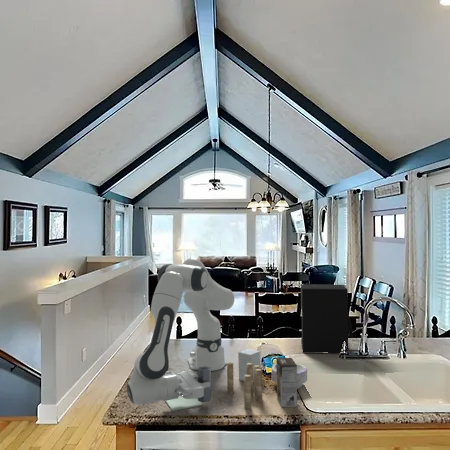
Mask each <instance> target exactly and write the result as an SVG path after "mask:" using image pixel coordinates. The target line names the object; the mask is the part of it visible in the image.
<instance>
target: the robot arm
mask: <svg viewBox="0 0 450 450" xmlns="http://www.w3.org/2000/svg"><path fill="white" fill-rule="evenodd" d="M208 271H209V270H208V269H207V267H206V266H205V265H204V263H203V262H202V261H201V260H200V259H198V258H196V257H190V258H187V259H185V261H183V262H182V264H178V263H175V264H172V263H167V264H163V265H162V266H161V267H160V268H159V270H158V272H157V282H158V283H157V285H156V287H155V290H154V292H153V295H152V300H151V304H150V313H151V315H152V317H153V318H154V321H155V322H154V328H153V332H152V337H151V340H150V344H149V347H148V348H147V349H146V351H145V352H142V353H140V354H138V356H137V357H136V359H135V361H134V363H133V364H134V365H133V370H132V373H131V376H130V379H129V381H128V382H127V383H126V392H127V398H128V399H129V401H130V402H131V403H132V404H133V405H148V404H154V403H157V402H160V401H163V402H165V401H167V400H173V399H178V397H179V396H182V397H183V398H184V399H194V398H201V397H203V396H204V388H206V387H210V382H209V381H205V382H204V383H199V382H198V375H192V374H191V373H189V371H187V370H175V371H170V370H169V368H168V365H169V366H170V364H169V363H170V362H169V355H168V352H169V351H168V350H169V343H170V338H171V335H172V334H171V333H172V329H173V326H174V322H175V319H176V317H177V314H178V311H179V308H180V304H181V302H182V298H183V303H184V304H185V306H186V307H187V308H188V309H189V310H190V311H191V312H192V313H193V315H194V317H195V320H196V324H197V326H196V327H197V339H196V345H195V346H194V347H193V348H192V351H191V352H189V356H190V357H188V358H187V362H188V365H189V367H190V369H191V370H194V371H195V370H197V371H198V369H199V367H204V366H206V367H210V368H211V371H212V372H214V371H218V370H222V369H223V368H224V367H225V366H227V363H228V361H226V359H225V348H224V347H223V346H222V337H221V322H220V320H219V319H218V318H217V317H216V316H214V315H213V314H212V313H211V311H225V310H230V309H231V308H232V307H233V306H234V303H235V295H234V292H233V291H232V289H229V288H226V287H224V286H222V285H220V284H219V283H217V282H216V280H214V279H213V278H212V277H211V274H210V272H208ZM183 292H184V295H183ZM167 369H168V371H167ZM164 374H165V375H164Z"/></svg>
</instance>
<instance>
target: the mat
mask: <svg viewBox="0 0 450 450" xmlns="http://www.w3.org/2000/svg"><path fill="white" fill-rule="evenodd" d="M164 402H165V403H166V404H167V406H168V407H169V409H170V410H171V412H175V411H176V412H177V411H180V410H186V409H190V408H197V407H202V406H203V402H200V401H198V398H194V399H184V398H183V397H182V396H179V397H178V399H173V400H167V401H164Z"/></svg>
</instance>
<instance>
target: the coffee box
mask: <svg viewBox="0 0 450 450" xmlns="http://www.w3.org/2000/svg"><path fill="white" fill-rule="evenodd" d="M275 360H276V364H277V383H276V398H277V400H278V403H279V404H280V405H279V406H280V407H281V408H293V407H295V408H297V407H298V389H297V365H296V364H297V363H296V362H295V361H294V359H293V358H292V357H276V359H275Z"/></svg>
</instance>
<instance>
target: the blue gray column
mask: <svg viewBox="0 0 450 450" xmlns="http://www.w3.org/2000/svg"><path fill="white" fill-rule="evenodd" d="M197 376H198V382H199V383H204V382H205V381H209V382H210V387H206V388H204V396H203V397H201V398H198V401H200V402H201V403H202V404H203V403H209V402H211V399H212V389H211V388H212V386H211V385H212V381H211V378H212V377H211V376H212V372H211V368H210V367H206V366H204V367H199V369H198V370H197Z"/></svg>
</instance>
